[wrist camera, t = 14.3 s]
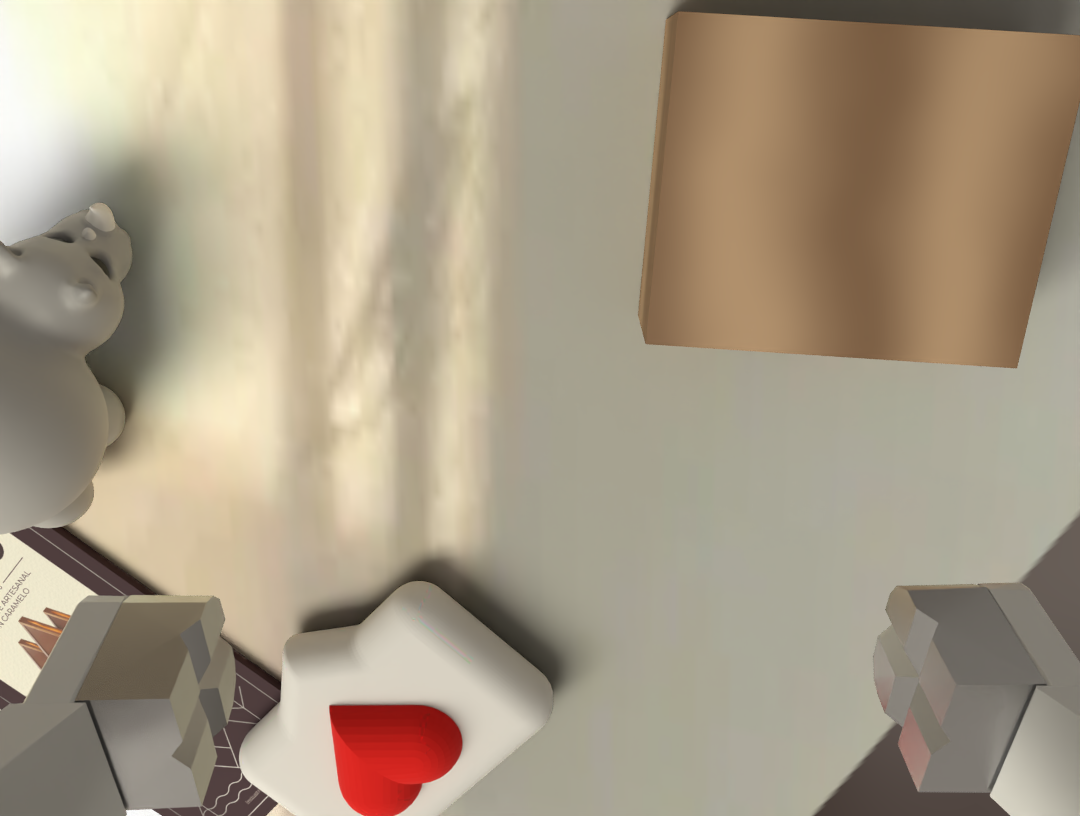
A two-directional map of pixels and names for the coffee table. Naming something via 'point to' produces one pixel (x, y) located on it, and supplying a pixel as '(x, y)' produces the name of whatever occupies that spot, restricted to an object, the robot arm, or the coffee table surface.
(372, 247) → the coffee table surface
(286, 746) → the icon
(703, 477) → the coffee table surface
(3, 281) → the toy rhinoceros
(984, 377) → the coffee table surface
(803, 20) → the block
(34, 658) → the chocolate bar
